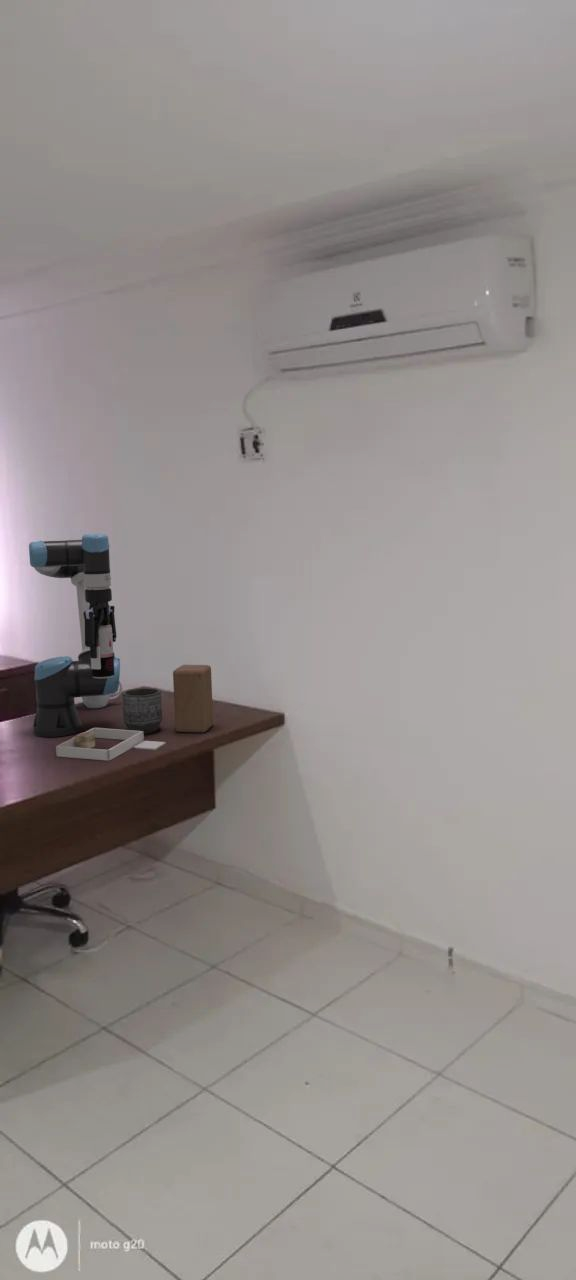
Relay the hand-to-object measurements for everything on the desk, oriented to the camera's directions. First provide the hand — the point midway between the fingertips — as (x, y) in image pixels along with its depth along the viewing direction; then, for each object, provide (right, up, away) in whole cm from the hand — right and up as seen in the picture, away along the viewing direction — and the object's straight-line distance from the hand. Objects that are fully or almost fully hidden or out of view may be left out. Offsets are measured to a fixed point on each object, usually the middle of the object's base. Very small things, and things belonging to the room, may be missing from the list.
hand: (102, 666), depth 270 cm
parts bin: (-1, -25, +5) cm, 25 cm away
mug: (-13, -16, +58) cm, 61 cm away
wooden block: (+24, -21, +24) cm, 40 cm away
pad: (+13, -24, +6) cm, 28 cm away
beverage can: (0, -3, +1) cm, 3 cm away
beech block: (-6, -24, +7) cm, 26 cm away
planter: (+8, -21, +23) cm, 33 cm away
